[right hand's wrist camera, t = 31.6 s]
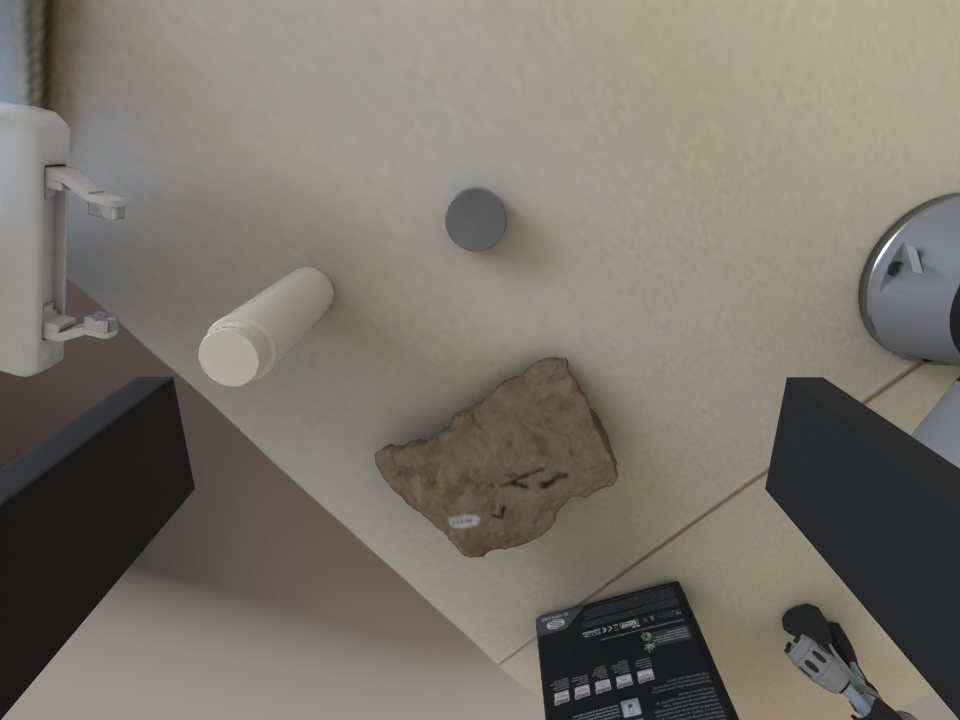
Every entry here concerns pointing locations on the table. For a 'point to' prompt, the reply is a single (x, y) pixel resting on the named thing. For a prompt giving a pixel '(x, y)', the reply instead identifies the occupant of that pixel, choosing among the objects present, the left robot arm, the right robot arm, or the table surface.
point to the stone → (506, 462)
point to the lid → (475, 219)
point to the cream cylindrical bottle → (264, 328)
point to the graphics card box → (630, 661)
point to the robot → (833, 662)
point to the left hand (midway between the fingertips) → (117, 271)
